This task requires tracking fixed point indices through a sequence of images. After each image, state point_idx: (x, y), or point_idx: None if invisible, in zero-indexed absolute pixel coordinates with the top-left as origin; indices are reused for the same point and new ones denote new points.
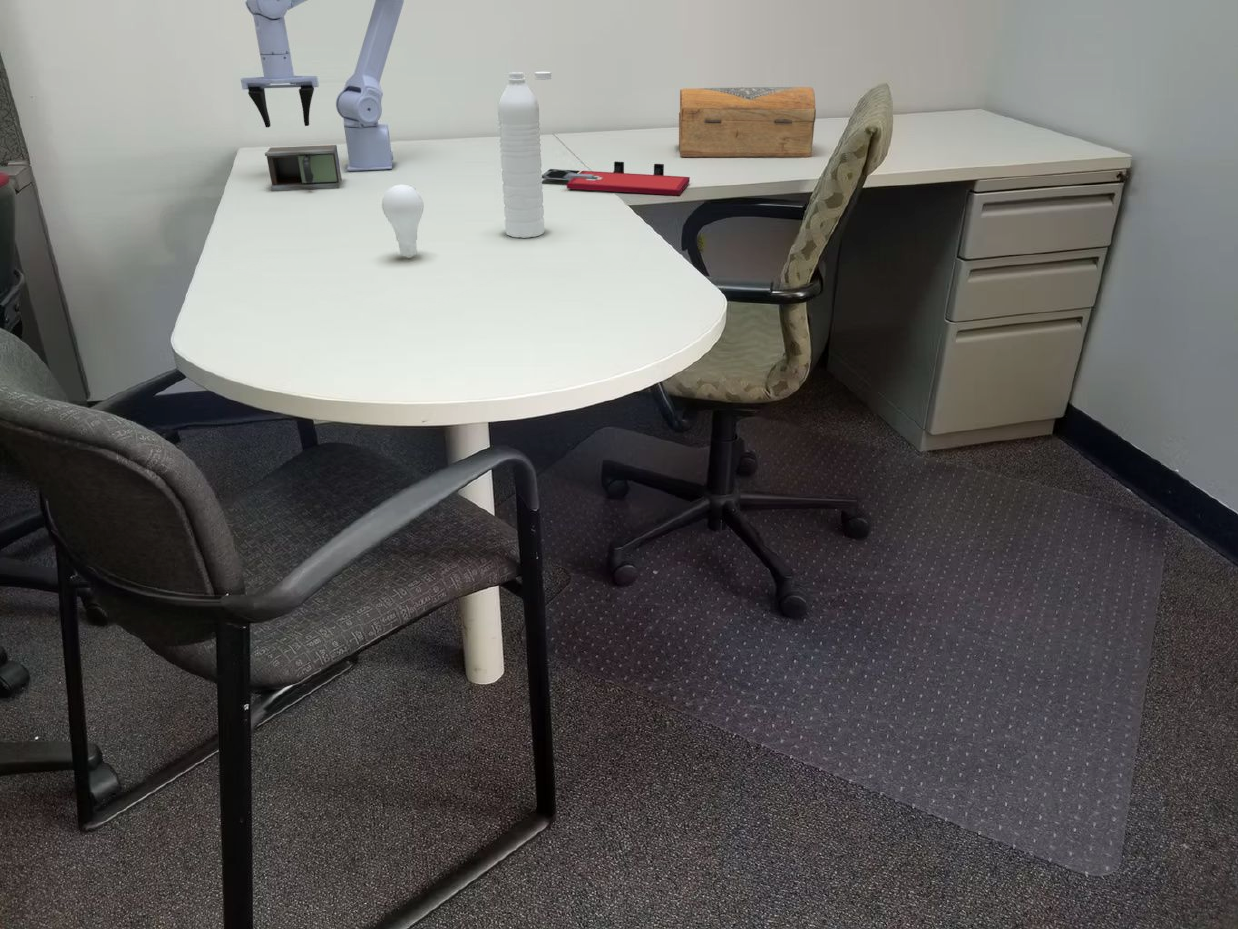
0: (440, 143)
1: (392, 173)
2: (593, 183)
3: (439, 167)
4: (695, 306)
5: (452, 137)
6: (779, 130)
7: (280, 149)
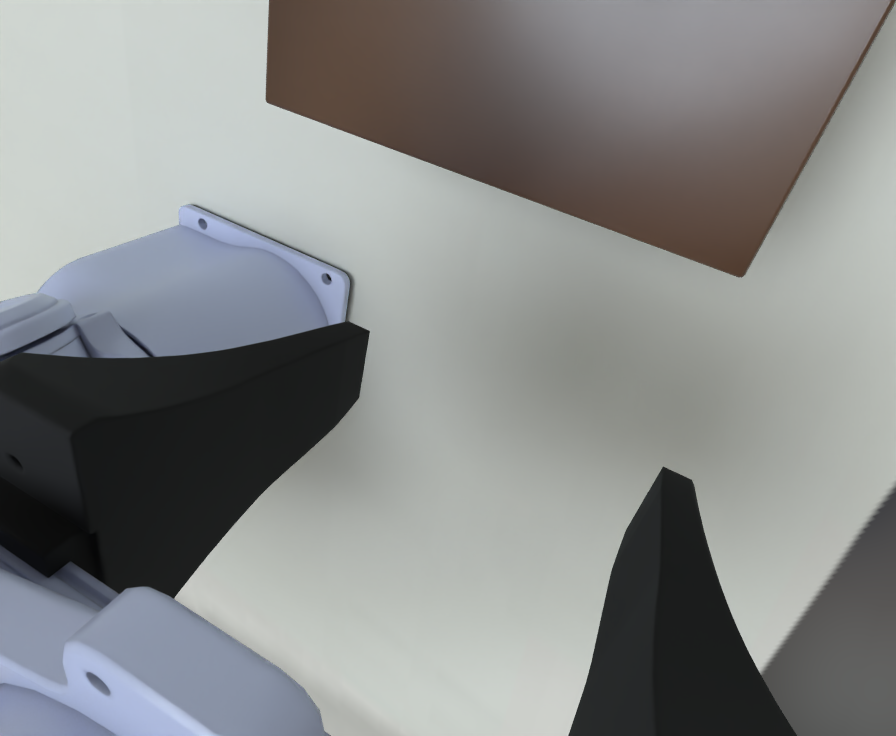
0: None
1: (181, 122)
2: None
3: (38, 146)
4: None
5: None
6: None
7: (693, 118)
